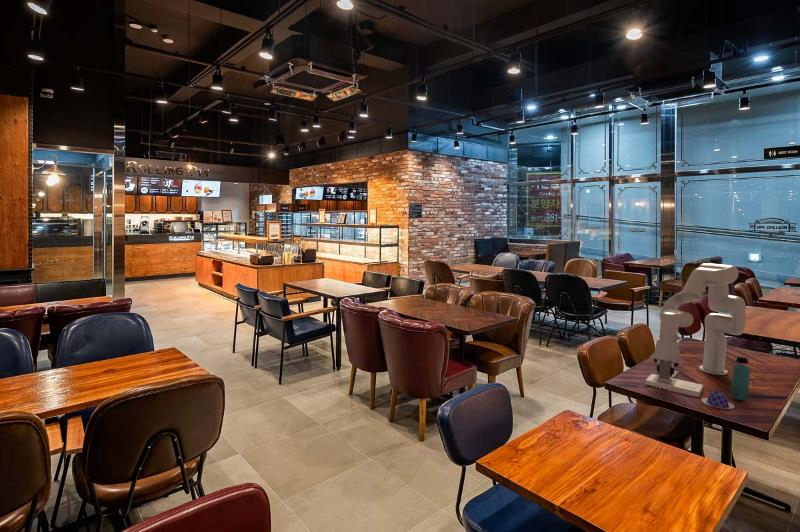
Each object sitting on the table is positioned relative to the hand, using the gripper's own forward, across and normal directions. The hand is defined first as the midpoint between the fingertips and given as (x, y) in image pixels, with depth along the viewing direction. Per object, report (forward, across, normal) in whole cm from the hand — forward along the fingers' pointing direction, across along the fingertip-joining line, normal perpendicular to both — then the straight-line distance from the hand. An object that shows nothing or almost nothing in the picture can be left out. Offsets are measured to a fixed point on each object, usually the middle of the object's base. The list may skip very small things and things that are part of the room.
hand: (665, 373), depth 218 cm
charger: (+2, 0, 0) cm, 2 cm away
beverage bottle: (+6, -29, -2) cm, 30 cm away
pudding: (+6, -22, +9) cm, 25 cm away
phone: (+6, +2, -20) cm, 22 cm away
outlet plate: (+6, -4, 0) cm, 7 cm away
